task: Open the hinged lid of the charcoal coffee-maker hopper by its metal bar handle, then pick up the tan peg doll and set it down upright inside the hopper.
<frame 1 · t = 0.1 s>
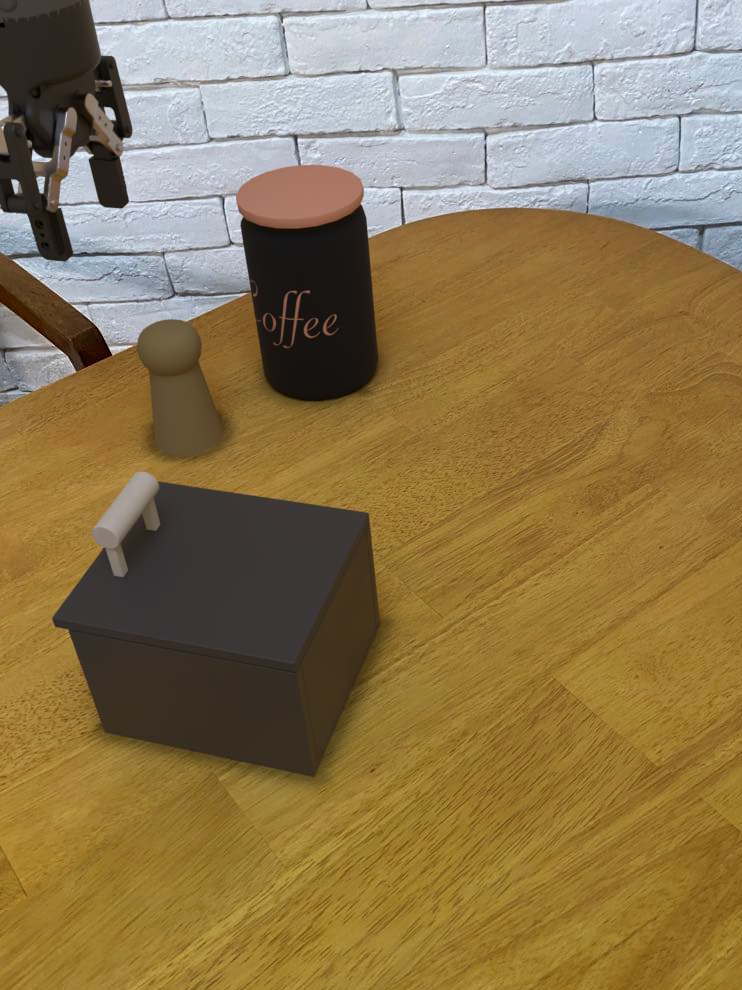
hand: (87, 231, 82), 21 cm above the table, tool pointing down, fingers open, 8 cm apart
hopper: (248, 679, 77), on the table
coffee jar: (322, 376, 105), on the table
tan peg doll: (190, 440, 99), on the table
hopper lid: (212, 542, 69), point 12 cm above the table, hinge at 0.0°
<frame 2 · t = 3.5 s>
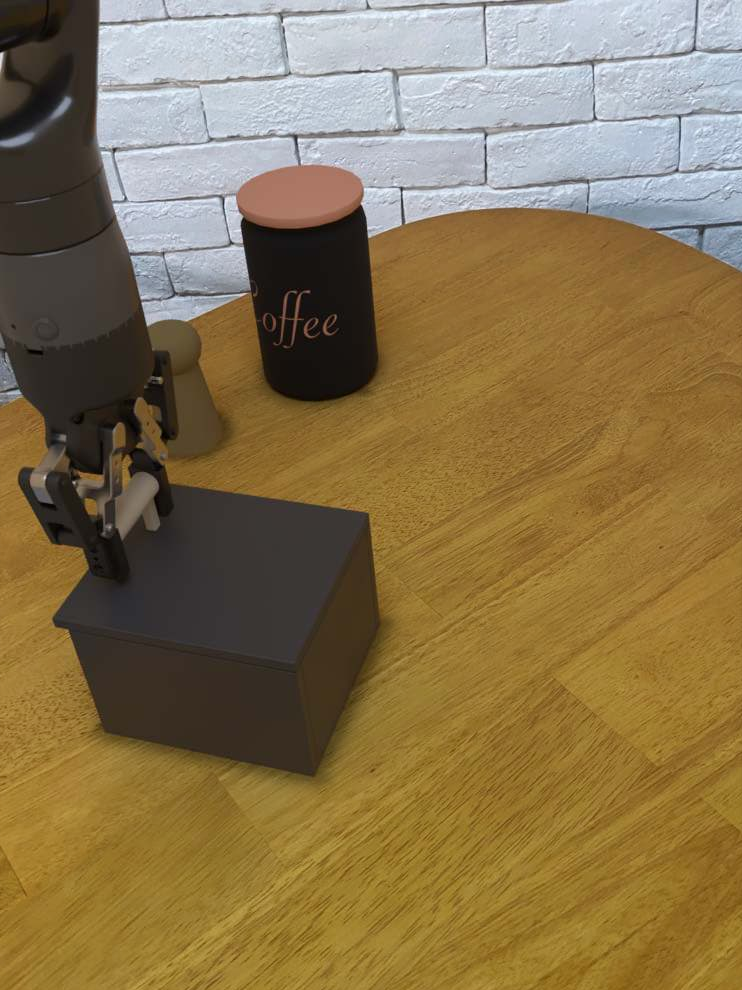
hand: (135, 542, 71), 11 cm above the table, tool pointing down, fingers closed on hopper lid, 5 cm apart
hopper lid: (212, 542, 69), point 12 cm above the table, hinge at 0.0°, touching gripper
everything else where it was.
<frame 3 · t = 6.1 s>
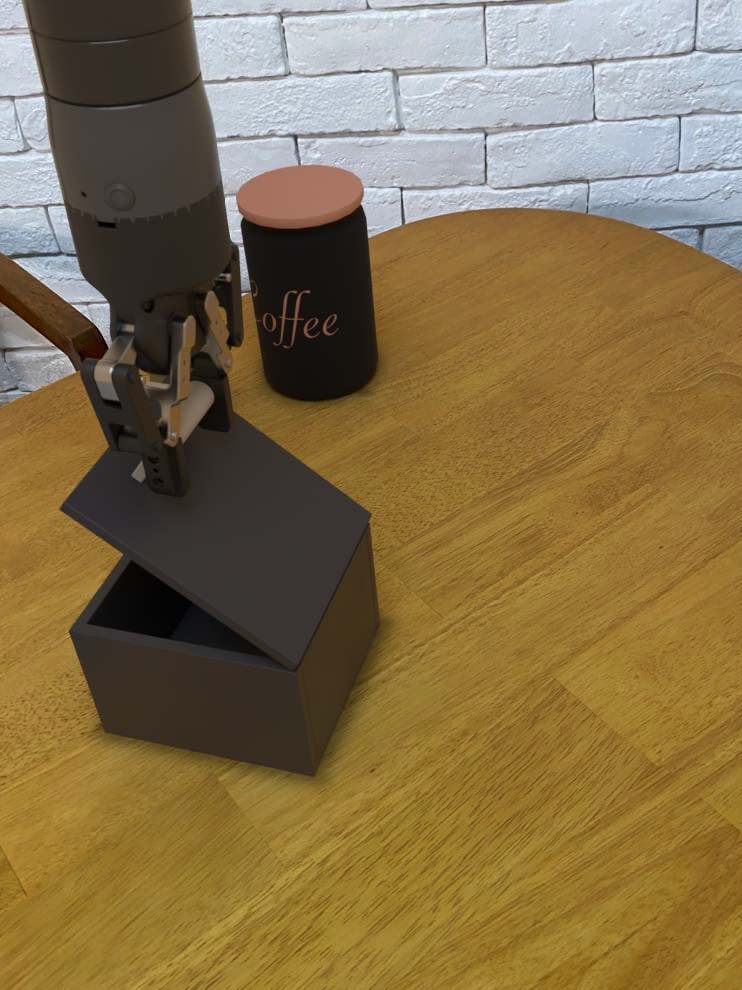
hand: (194, 457, 65), 19 cm above the table, tool pointing down, fingers closed on hopper lid, 5 cm apart
hopper lid: (246, 493, 65), point 17 cm above the table, hinge at 38.4°, touching gripper
everything else where it was.
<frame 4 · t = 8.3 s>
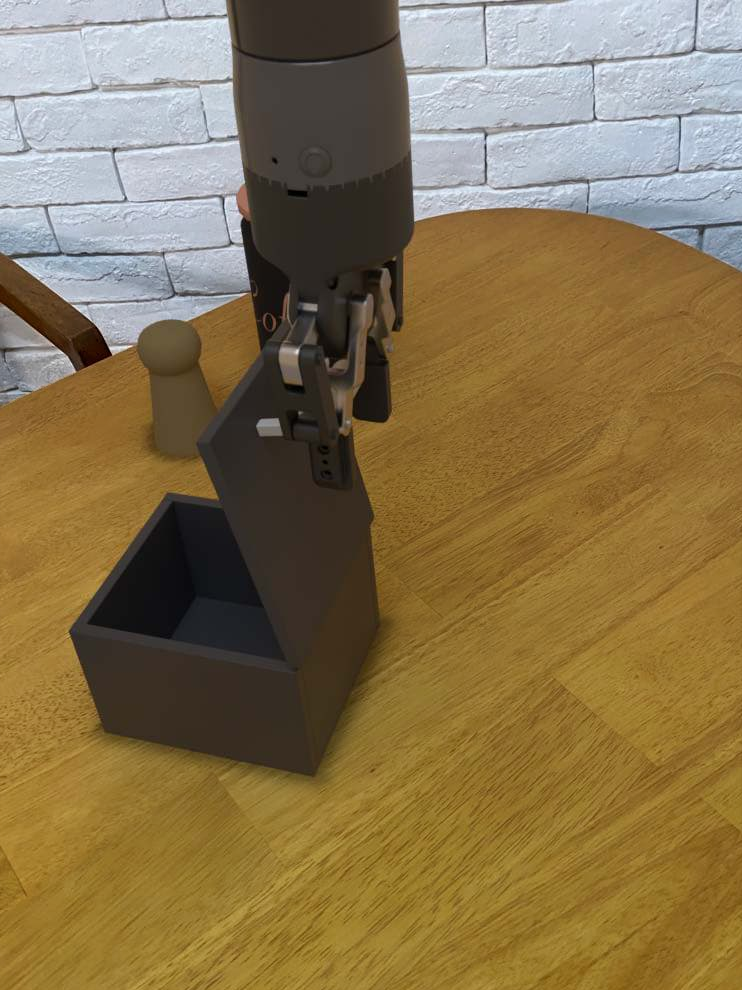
hand: (354, 449, 61), 21 cm above the table, tool pointing down, fingers closed on hopper lid, 5 cm apart
hopper lid: (331, 484, 63), point 18 cm above the table, hinge at 79.4°, touching gripper
everything else where it was.
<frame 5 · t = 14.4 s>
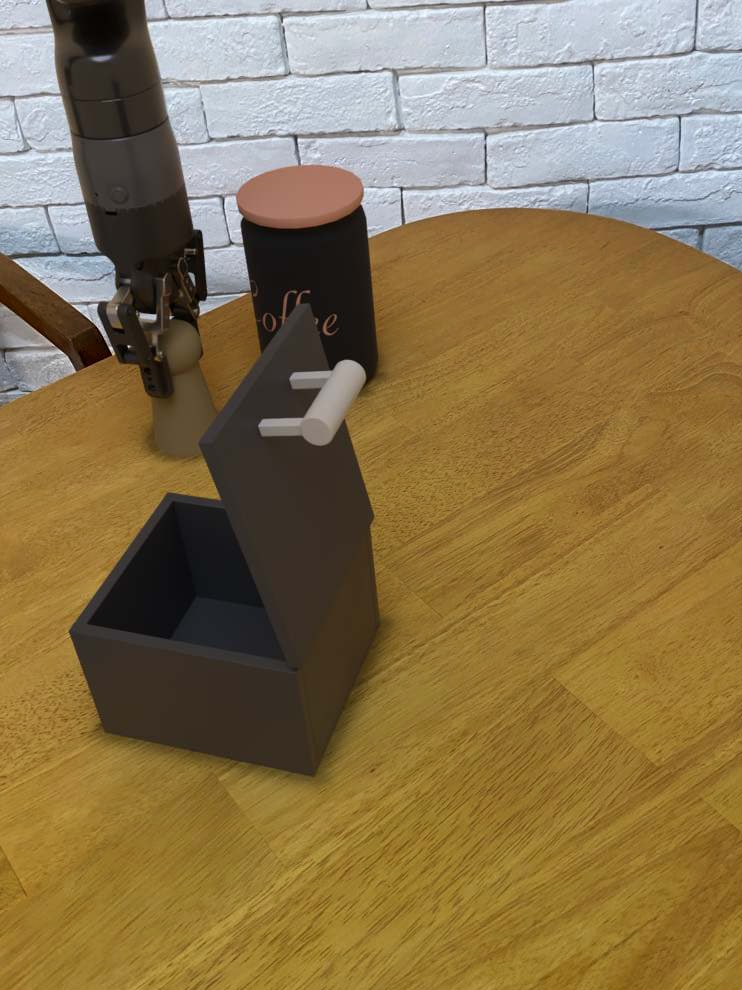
hand: (176, 376, 94), 6 cm above the table, tool pointing down, fingers closed on tan peg doll, 5 cm apart
tan peg doll: (190, 440, 99), on the table, touching gripper
hopper lid: (333, 485, 63), point 18 cm above the table, hinge at 79.9°
everything else where it was.
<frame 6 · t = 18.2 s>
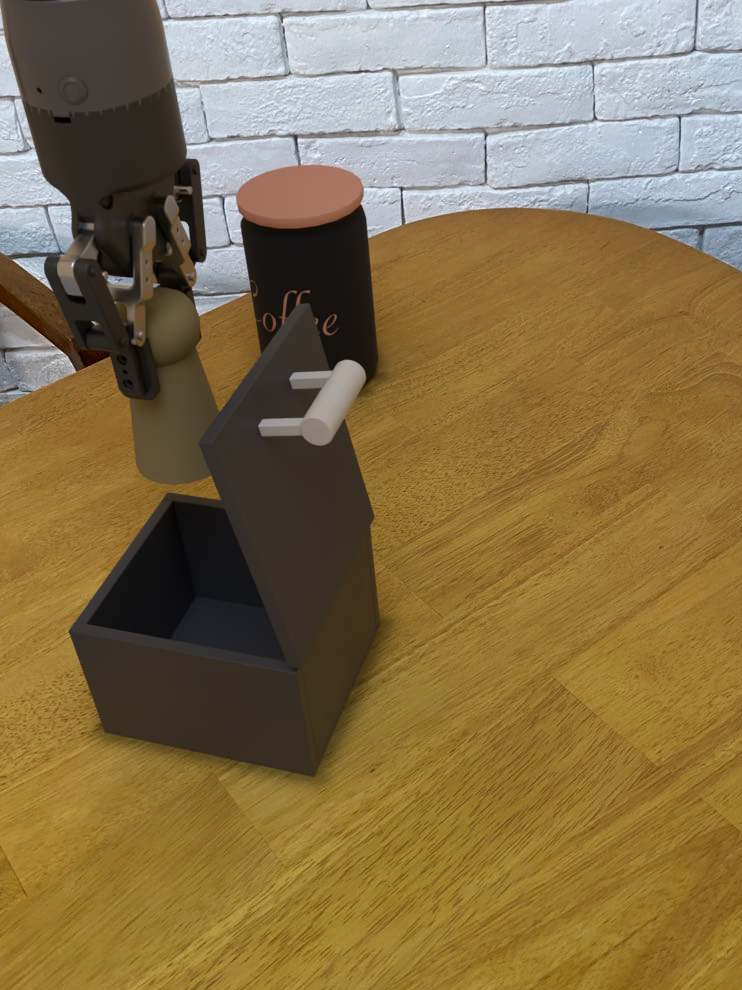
hand: (163, 368, 67), 22 cm above the table, tool pointing down, fingers closed on tan peg doll, 5 cm apart
tan peg doll: (184, 457, 71), point 15 cm above the table, touching gripper
everything else where it was.
when the fingers open (7 cm above the table, at t = 22.3 s): tan peg doll stays where it is, resting on hopper.
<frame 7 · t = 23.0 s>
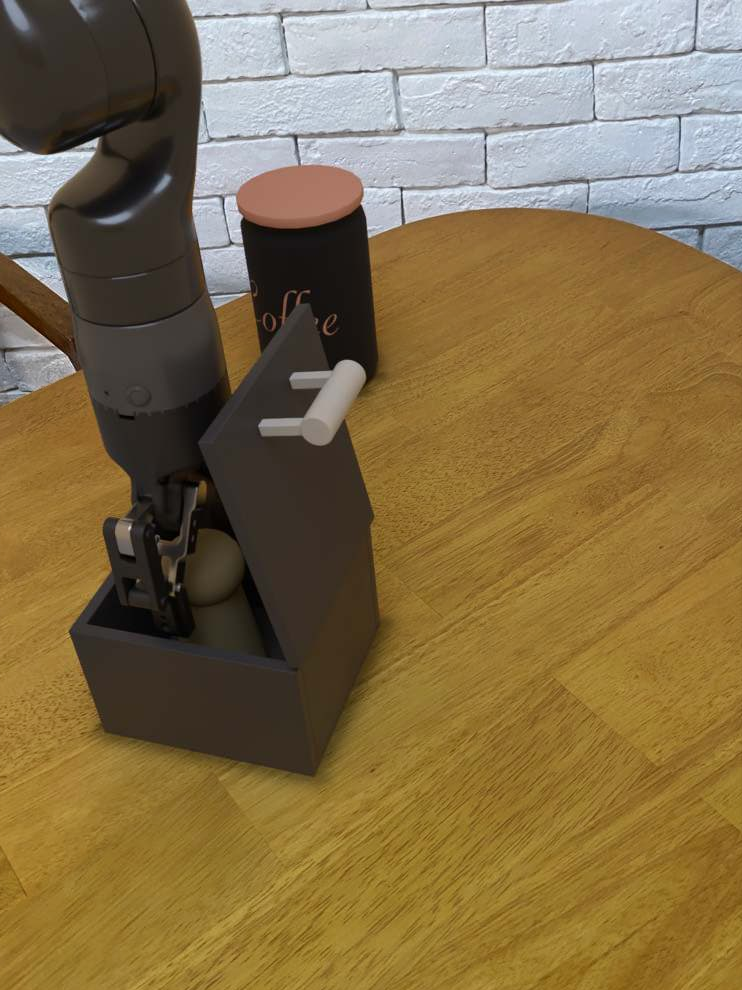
hand: (206, 585, 72), 9 cm above the table, tool pointing down, fingers open, 8 cm apart
tan peg doll: (226, 669, 77), point 1 cm above the table, touching hopper
everything else where it was.
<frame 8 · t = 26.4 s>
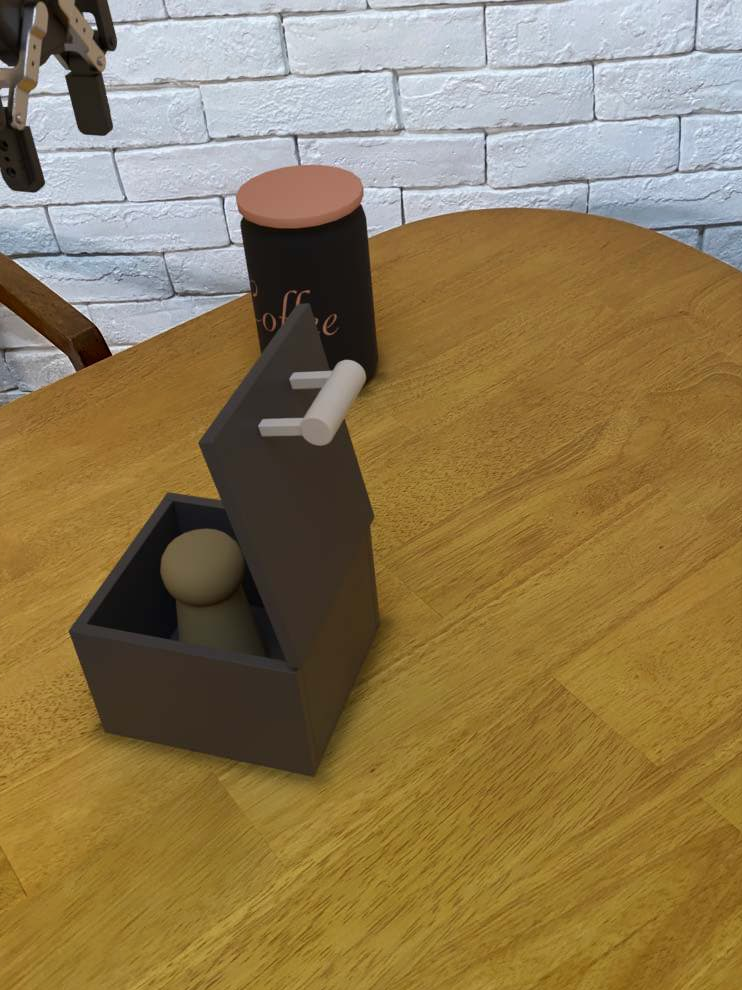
hand: (63, 160, 70), 30 cm above the table, tool pointing down, fingers open, 8 cm apart
nothing on the table moved.
at the end: hopper lid at +80° (first picture: +0°); tan peg doll inside the target area in the hopper (1.5 cm from its centre), point 0.6 cm above the hopper's base; tan peg doll tilted 0° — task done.
